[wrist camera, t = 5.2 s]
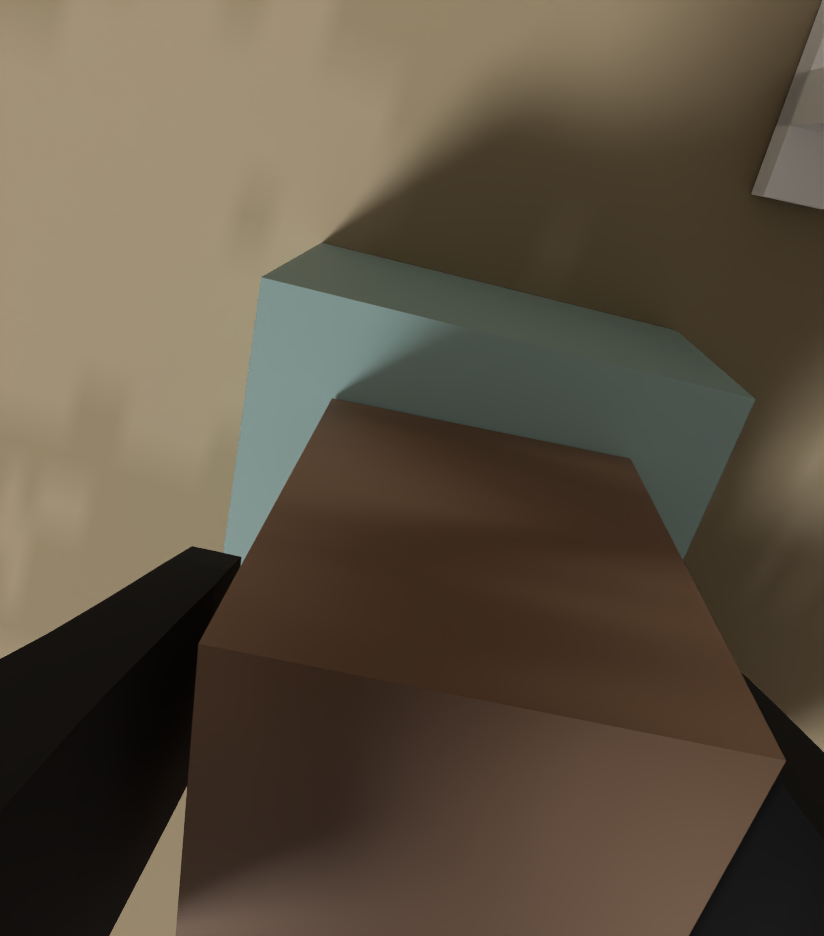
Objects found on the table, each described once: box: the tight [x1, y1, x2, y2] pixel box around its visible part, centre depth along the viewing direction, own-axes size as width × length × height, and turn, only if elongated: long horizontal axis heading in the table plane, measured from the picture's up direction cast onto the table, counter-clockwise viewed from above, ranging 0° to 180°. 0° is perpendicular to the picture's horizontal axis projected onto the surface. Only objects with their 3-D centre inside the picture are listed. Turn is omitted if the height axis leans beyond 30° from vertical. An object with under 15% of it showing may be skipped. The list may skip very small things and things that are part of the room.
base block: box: [223, 243, 756, 565], centre depth 13 cm, size 7×7×4 cm
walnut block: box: [176, 398, 786, 936], centre depth 9 cm, size 4×4×6 cm
